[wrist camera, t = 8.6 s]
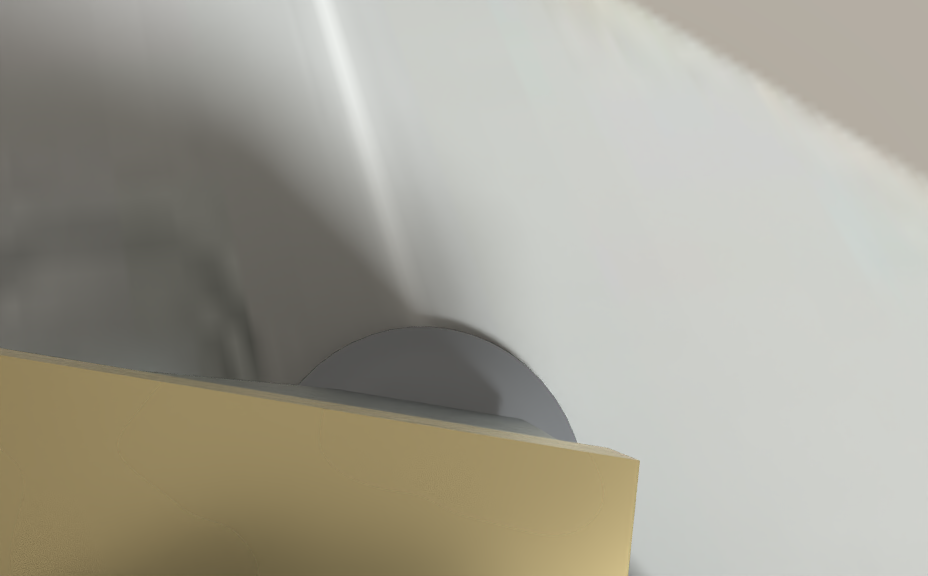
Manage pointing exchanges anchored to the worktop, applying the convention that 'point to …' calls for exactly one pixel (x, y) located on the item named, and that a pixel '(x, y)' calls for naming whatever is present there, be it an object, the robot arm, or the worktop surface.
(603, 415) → the worktop surface
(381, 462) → the charcoal tea tin
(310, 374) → the gray disc
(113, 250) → the worktop surface
